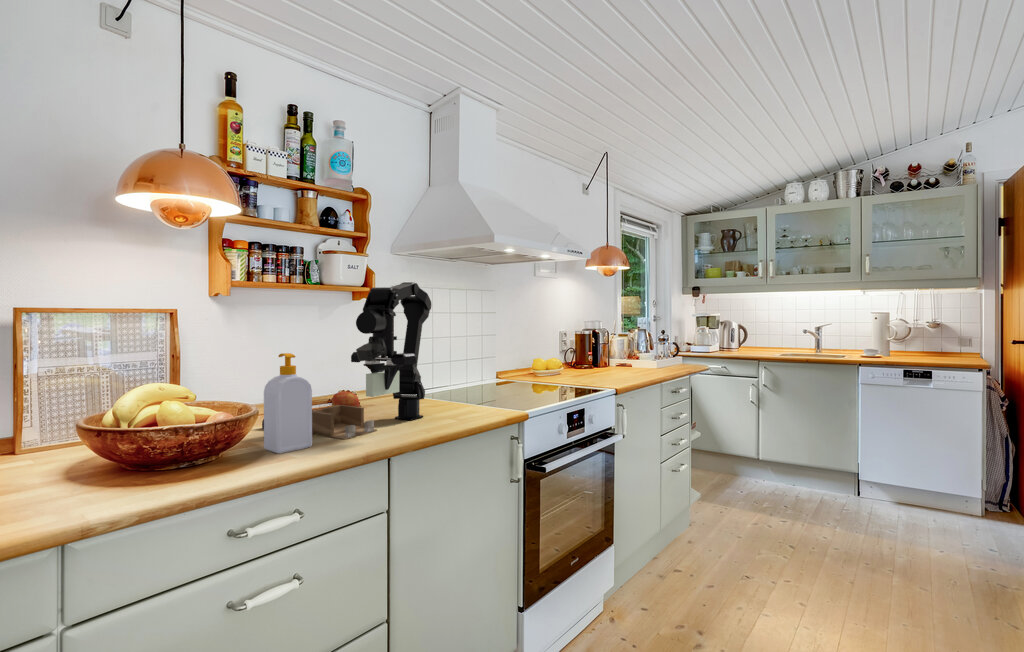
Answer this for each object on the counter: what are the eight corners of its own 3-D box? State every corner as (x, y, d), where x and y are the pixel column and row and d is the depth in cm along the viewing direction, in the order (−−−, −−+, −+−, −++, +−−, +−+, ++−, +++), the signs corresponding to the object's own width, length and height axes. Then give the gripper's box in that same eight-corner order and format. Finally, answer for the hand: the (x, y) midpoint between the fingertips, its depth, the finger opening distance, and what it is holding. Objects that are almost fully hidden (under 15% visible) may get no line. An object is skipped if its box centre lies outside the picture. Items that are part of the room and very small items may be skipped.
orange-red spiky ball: (332, 414, 170) (331, 390, 170) (359, 413, 172) (359, 389, 172) (330, 419, 162) (330, 393, 162) (359, 418, 165) (359, 392, 164)
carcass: (340, 425, 154) (340, 404, 154) (377, 430, 148) (377, 409, 148) (307, 433, 144) (307, 411, 144) (344, 439, 137) (344, 416, 137)
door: (392, 391, 152) (392, 370, 152) (399, 391, 151) (399, 370, 151) (365, 396, 142) (365, 373, 142) (372, 396, 141) (372, 374, 141)
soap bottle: (297, 442, 134) (297, 351, 133) (312, 446, 130) (312, 353, 129) (262, 449, 127) (261, 354, 126) (276, 454, 123) (276, 355, 122)
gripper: (336, 332, 143) (336, 390, 144) (390, 334, 135) (390, 395, 135) (365, 331, 153) (365, 385, 154) (417, 333, 145) (417, 390, 145)
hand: (383, 389), depth 147 cm, fingers closed on door, 2 cm apart
